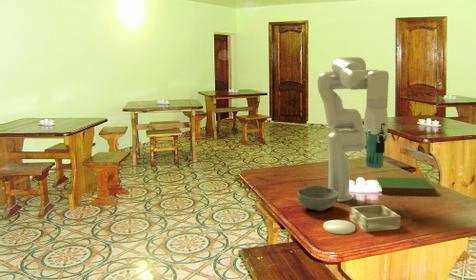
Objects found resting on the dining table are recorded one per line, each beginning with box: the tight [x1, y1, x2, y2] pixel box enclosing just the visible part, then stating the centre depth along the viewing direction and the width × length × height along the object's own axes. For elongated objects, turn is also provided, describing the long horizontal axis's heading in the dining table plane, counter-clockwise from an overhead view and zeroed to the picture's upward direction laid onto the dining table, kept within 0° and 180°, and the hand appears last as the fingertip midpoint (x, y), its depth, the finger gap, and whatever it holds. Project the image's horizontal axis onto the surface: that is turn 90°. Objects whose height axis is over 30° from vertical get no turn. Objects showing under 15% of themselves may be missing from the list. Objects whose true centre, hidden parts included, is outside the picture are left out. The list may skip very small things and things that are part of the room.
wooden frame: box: [349, 204, 402, 233], centre depth 167 cm, size 14×14×5 cm
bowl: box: [296, 184, 338, 212], centre depth 185 cm, size 18×18×8 cm
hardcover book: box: [375, 176, 436, 196], centre depth 211 cm, size 25×19×4 cm
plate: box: [322, 219, 356, 235], centre depth 163 cm, size 12×12×1 cm
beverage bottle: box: [365, 130, 384, 169], centre depth 161 cm, size 6×7×20 cm
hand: (375, 150), depth 162 cm, fingers closed on beverage bottle, 6 cm apart
